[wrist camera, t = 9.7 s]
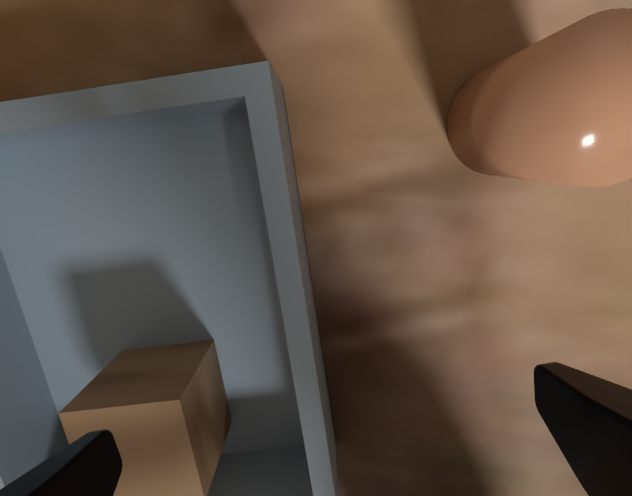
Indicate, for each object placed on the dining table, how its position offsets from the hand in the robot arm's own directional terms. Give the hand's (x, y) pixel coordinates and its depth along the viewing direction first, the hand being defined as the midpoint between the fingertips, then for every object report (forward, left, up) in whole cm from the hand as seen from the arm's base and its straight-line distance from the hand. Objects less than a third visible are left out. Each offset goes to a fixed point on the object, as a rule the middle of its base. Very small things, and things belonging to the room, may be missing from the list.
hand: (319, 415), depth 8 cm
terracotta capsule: (+6, -9, -12) cm, 16 cm away
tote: (-1, +9, -12) cm, 15 cm away
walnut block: (-6, +9, -11) cm, 15 cm away
